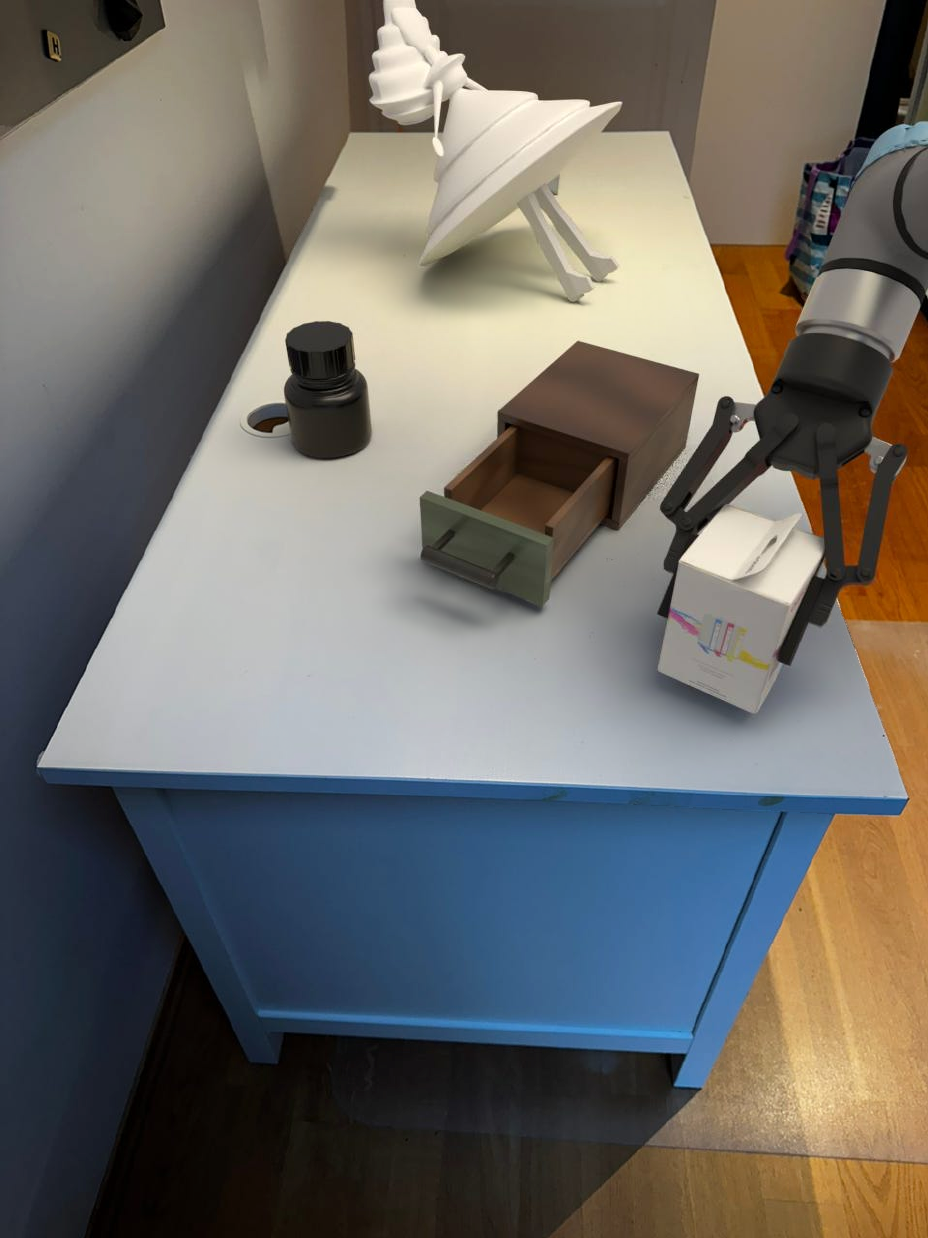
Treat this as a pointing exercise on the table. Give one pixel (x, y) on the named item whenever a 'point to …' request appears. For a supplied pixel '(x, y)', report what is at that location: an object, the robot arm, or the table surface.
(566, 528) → the drawer
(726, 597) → the ink box
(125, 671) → the table surface
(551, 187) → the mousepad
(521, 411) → the cabinet
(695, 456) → the robot arm
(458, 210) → the figurine
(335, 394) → the ink bottle
